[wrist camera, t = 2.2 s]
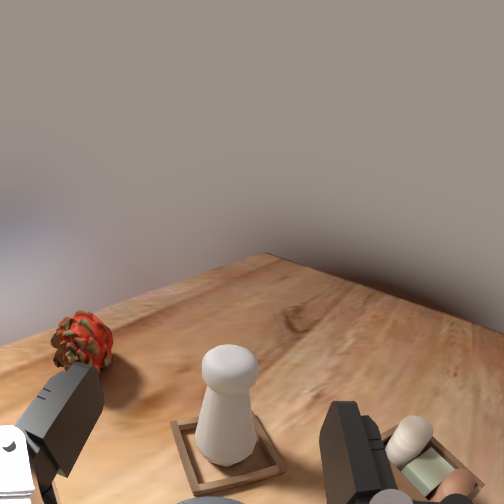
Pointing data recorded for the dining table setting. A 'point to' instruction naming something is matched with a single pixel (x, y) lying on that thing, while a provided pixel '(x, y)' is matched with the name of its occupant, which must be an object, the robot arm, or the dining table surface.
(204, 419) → the salt shaker
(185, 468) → the holder
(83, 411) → the robot arm
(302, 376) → the dining table surface
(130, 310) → the dining table surface
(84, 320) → the dragon fruit
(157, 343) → the dining table surface
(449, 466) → the caddy
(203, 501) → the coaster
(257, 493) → the dining table surface
